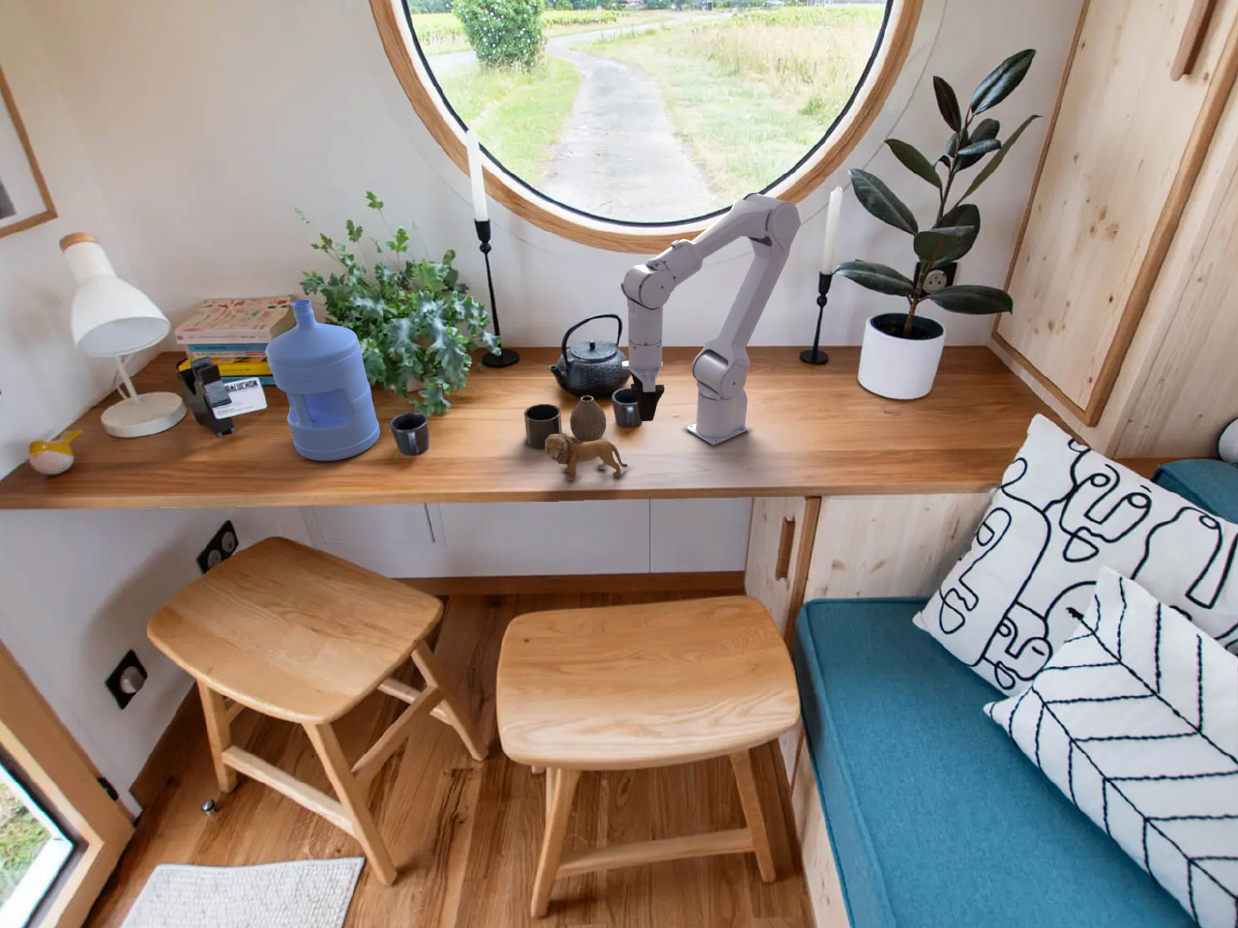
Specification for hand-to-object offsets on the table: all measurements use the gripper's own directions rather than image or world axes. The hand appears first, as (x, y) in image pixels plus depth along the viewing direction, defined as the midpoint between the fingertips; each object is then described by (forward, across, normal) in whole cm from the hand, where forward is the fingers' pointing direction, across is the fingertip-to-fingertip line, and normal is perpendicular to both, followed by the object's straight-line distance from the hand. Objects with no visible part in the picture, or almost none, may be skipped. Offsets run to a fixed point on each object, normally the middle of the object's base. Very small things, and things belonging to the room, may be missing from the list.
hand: (644, 409), depth 123 cm
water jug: (+10, -10, -59) cm, 60 cm away
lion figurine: (+10, +6, -11) cm, 16 cm away
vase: (+10, -6, -10) cm, 15 cm away
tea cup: (+9, -7, -19) cm, 22 cm away
